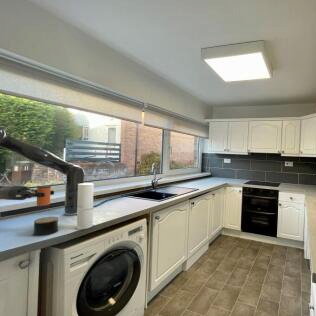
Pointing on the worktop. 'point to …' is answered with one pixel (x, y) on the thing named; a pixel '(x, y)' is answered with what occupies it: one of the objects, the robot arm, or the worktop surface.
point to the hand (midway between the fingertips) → (49, 193)
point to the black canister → (45, 226)
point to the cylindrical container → (85, 205)
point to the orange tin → (45, 200)
